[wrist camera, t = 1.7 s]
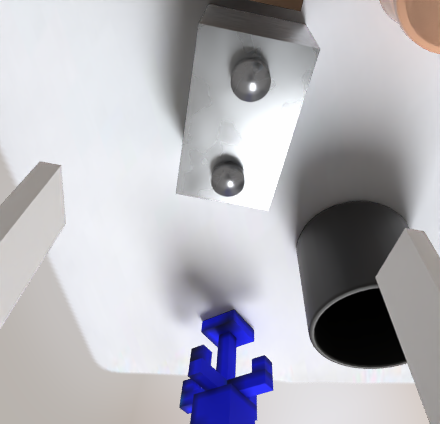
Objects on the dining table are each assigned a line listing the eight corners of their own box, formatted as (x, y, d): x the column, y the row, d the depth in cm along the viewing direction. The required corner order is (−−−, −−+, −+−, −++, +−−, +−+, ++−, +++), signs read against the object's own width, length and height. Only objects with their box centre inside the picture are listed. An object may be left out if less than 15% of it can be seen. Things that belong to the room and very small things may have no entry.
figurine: (272, 309, 39) (279, 434, 30) (253, 351, 44) (255, 471, 34) (199, 296, 39) (182, 419, 29) (188, 340, 43) (171, 458, 34)
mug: (327, 308, 39) (345, 396, 31) (279, 224, 33) (287, 308, 25) (426, 280, 35) (471, 370, 28) (392, 181, 29) (439, 264, 22)
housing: (209, 3, 23) (196, 26, 18) (305, 23, 23) (322, 53, 18) (187, 149, 29) (173, 200, 24) (265, 164, 29) (268, 218, 24)
